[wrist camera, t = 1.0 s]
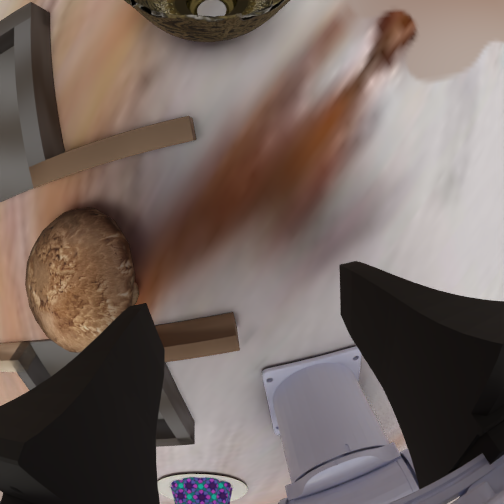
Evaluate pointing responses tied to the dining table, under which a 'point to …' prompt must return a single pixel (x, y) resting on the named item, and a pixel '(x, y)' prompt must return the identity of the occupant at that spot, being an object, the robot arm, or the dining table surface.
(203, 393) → the dining table surface
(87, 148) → the grey brown flat frame
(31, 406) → the robot arm
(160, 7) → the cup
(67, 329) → the mushroom
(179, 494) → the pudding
